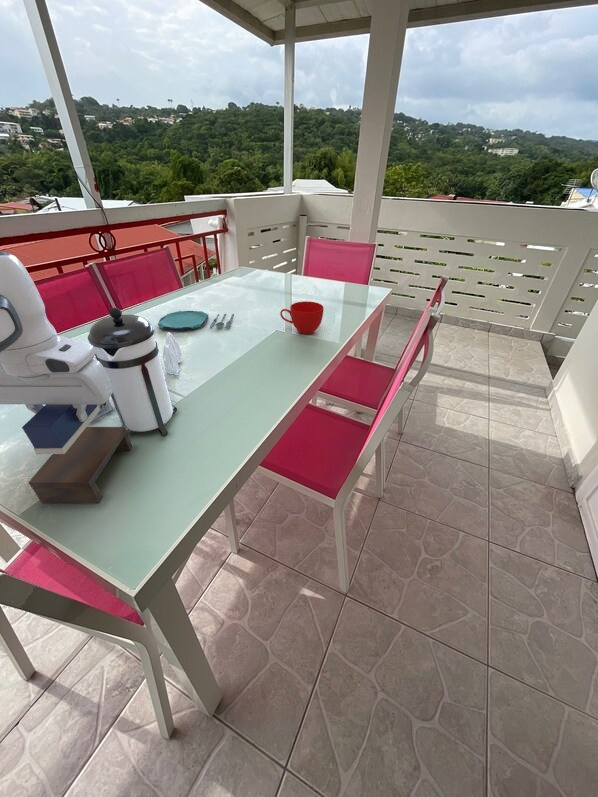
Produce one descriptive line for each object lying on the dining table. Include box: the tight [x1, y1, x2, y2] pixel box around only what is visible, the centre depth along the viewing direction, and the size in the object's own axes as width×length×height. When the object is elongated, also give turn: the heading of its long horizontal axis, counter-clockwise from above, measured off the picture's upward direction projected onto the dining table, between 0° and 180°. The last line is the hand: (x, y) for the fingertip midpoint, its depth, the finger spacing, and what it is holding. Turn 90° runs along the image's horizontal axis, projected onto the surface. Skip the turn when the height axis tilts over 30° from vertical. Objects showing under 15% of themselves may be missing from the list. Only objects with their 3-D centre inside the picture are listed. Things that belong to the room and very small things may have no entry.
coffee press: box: [87, 307, 178, 437], centre depth 77 cm, size 17×16×30 cm
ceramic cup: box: [279, 300, 325, 335], centre depth 130 cm, size 13×17×10 cm
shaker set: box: [162, 332, 183, 377], centre depth 105 cm, size 12×4×11 cm, turn 8°
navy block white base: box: [21, 404, 100, 455], centre depth 62 cm, size 13×5×6 cm, turn 0°
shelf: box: [28, 426, 134, 504], centre depth 69 cm, size 11×16×6 cm
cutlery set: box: [157, 310, 235, 330], centre depth 138 cm, size 20×30×2 cm, turn 89°
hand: (65, 419), depth 62 cm, fingers closed on navy block white base, 5 cm apart
